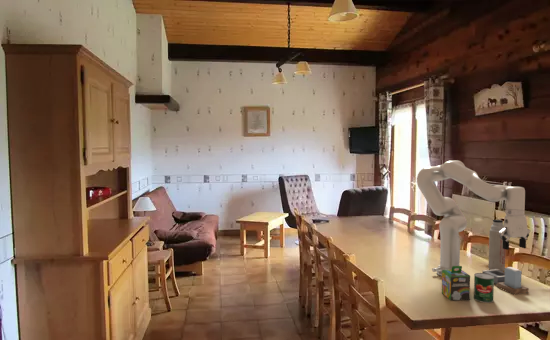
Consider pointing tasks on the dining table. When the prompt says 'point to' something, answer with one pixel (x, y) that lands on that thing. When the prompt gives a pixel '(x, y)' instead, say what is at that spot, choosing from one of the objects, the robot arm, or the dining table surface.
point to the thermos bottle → (496, 247)
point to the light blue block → (513, 277)
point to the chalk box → (456, 284)
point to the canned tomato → (483, 287)
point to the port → (496, 275)
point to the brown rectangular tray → (512, 290)
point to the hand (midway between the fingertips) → (514, 248)
